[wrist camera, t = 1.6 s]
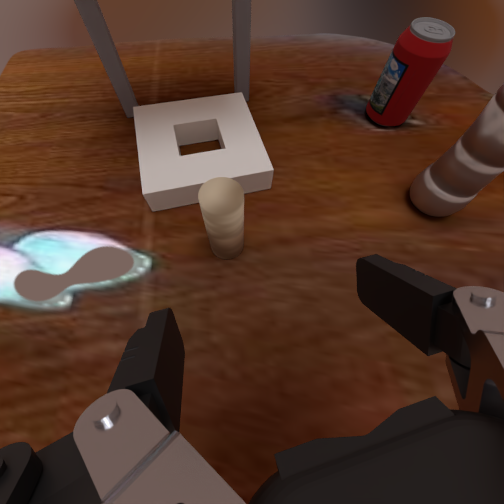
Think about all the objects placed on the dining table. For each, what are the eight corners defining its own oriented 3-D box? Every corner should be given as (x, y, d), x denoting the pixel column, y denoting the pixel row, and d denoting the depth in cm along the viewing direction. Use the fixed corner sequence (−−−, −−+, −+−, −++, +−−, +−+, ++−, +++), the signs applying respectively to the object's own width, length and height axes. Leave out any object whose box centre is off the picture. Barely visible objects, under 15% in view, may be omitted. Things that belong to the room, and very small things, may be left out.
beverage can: (366, 100, 43) (407, 10, 33) (405, 109, 43) (460, 20, 32) (361, 124, 41) (404, 35, 30) (402, 134, 40) (462, 47, 29)
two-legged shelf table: (267, 145, 38) (311, -244, 14) (132, 168, 35) (-110, -274, 11) (244, 90, 43) (246, -253, 20) (126, 106, 40) (-41, -275, 17)
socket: (270, 188, 34) (273, 169, 31) (152, 211, 32) (142, 194, 29) (241, 113, 41) (241, 92, 37) (141, 128, 38) (132, 106, 35)
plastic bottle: (422, 177, 36) (603, -17, 18) (461, 209, 34) (714, 25, 16) (392, 196, 34) (559, 3, 16) (431, 231, 32) (676, 53, 14)
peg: (205, 252, 30) (190, 205, 21) (218, 226, 31) (209, 171, 23) (236, 264, 29) (233, 219, 21) (248, 236, 31) (250, 184, 22)
